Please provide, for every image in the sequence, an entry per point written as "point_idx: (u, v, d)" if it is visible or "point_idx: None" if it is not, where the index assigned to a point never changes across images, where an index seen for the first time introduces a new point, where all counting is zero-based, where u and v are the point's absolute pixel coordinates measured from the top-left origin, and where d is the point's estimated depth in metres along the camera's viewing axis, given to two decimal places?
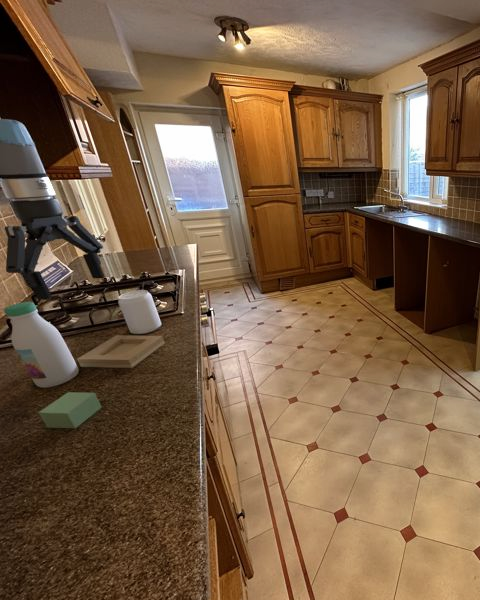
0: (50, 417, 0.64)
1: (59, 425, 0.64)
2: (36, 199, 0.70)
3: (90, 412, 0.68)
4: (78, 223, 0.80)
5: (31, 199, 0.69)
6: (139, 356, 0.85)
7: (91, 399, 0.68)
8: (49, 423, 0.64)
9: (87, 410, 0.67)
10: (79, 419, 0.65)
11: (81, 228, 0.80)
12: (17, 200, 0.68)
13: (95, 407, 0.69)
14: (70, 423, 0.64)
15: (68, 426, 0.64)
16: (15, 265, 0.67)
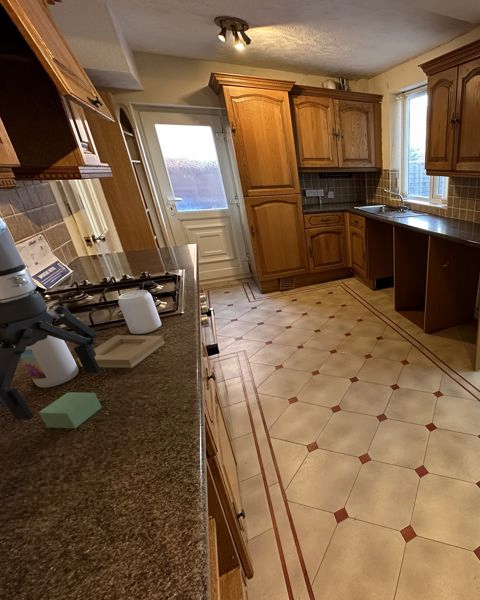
0: (50, 417, 0.64)
1: (59, 425, 0.64)
2: (11, 300, 0.54)
3: (90, 412, 0.68)
4: (67, 314, 0.65)
5: (4, 301, 0.54)
6: (139, 356, 0.85)
7: (91, 399, 0.68)
8: (49, 423, 0.64)
9: (87, 410, 0.67)
10: (79, 419, 0.65)
11: (71, 319, 0.65)
12: None
13: (95, 407, 0.69)
14: (70, 423, 0.64)
15: (68, 426, 0.64)
16: None
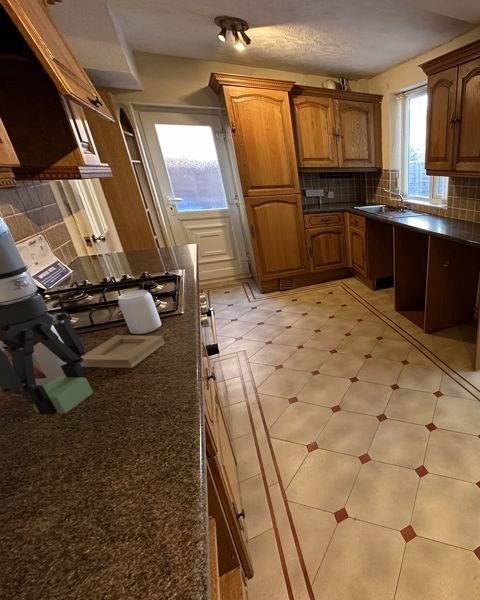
0: None
1: None
2: (12, 302, 0.55)
3: (81, 397, 0.66)
4: (67, 322, 0.65)
5: (5, 303, 0.54)
6: (139, 356, 0.85)
7: (82, 384, 0.66)
8: None
9: (78, 395, 0.65)
10: (69, 404, 0.64)
11: (68, 328, 0.65)
12: None
13: (86, 392, 0.67)
14: (60, 408, 0.63)
15: (58, 410, 0.63)
16: (11, 388, 0.56)
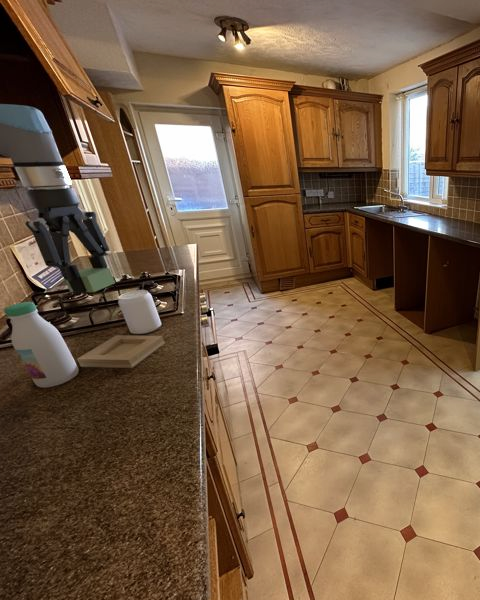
0: None
1: None
2: (53, 188, 0.68)
3: (106, 283, 0.80)
4: (94, 219, 0.78)
5: (48, 188, 0.68)
6: (139, 356, 0.85)
7: (106, 272, 0.80)
8: None
9: (103, 280, 0.79)
10: (97, 285, 0.77)
11: (95, 225, 0.79)
12: (34, 189, 0.67)
13: (110, 280, 0.81)
14: (90, 287, 0.76)
15: (87, 289, 0.76)
16: (52, 260, 0.70)
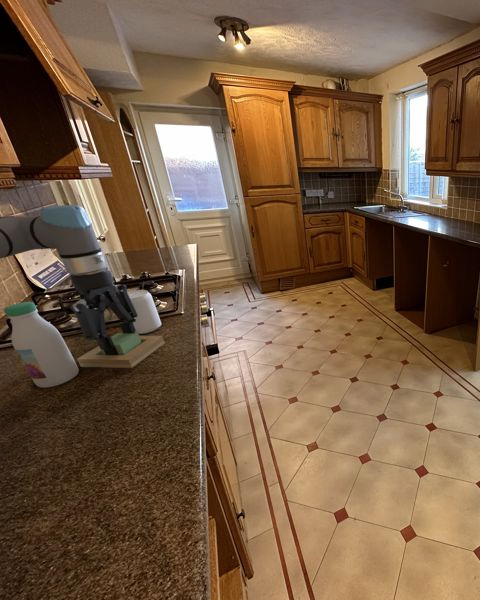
0: None
1: None
2: (93, 273, 0.77)
3: None
4: (124, 291, 0.87)
5: (89, 273, 0.77)
6: (139, 356, 0.85)
7: (136, 338, 0.89)
8: None
9: (133, 345, 0.88)
10: (128, 351, 0.86)
11: (125, 296, 0.87)
12: (77, 275, 0.76)
13: (138, 344, 0.90)
14: (122, 353, 0.85)
15: None
16: (91, 335, 0.79)
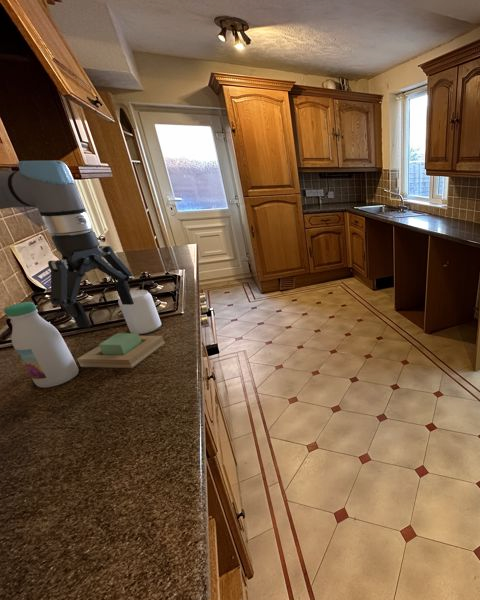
0: (107, 348, 0.85)
1: (113, 354, 0.85)
2: (76, 233, 0.73)
3: None
4: (111, 253, 0.83)
5: (72, 234, 0.73)
6: (139, 356, 0.85)
7: (136, 338, 0.89)
8: (106, 353, 0.85)
9: (133, 345, 0.88)
10: (128, 351, 0.86)
11: (114, 257, 0.84)
12: (59, 235, 0.72)
13: (138, 344, 0.90)
14: (122, 353, 0.85)
15: None
16: (59, 297, 0.72)
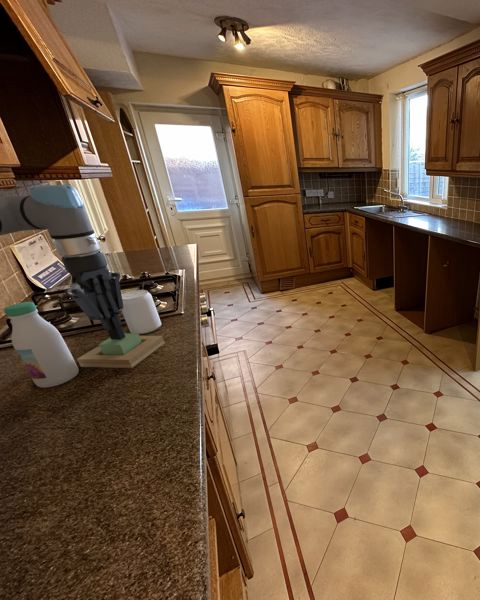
0: (107, 348, 0.85)
1: (113, 354, 0.85)
2: (85, 255, 0.75)
3: None
4: (117, 279, 0.85)
5: (81, 255, 0.75)
6: (139, 356, 0.85)
7: (136, 338, 0.89)
8: (106, 353, 0.85)
9: (133, 345, 0.88)
10: (128, 351, 0.86)
11: (116, 284, 0.85)
12: (69, 257, 0.74)
13: (138, 344, 0.90)
14: (122, 353, 0.85)
15: None
16: (95, 316, 0.80)
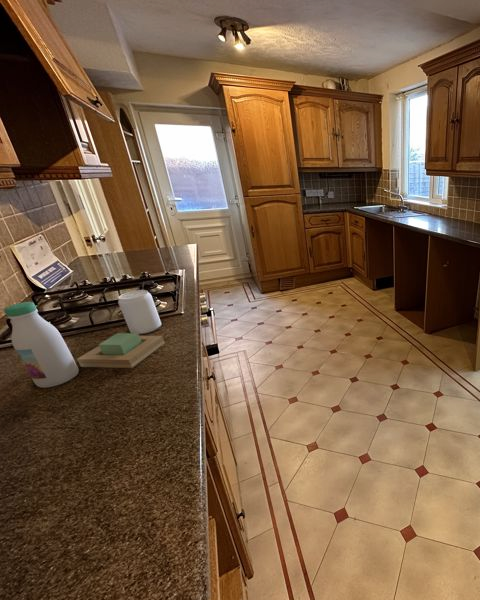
0: (107, 348, 0.85)
1: (113, 354, 0.85)
2: None
3: None
4: None
5: None
6: (139, 356, 0.85)
7: (136, 338, 0.89)
8: (106, 353, 0.85)
9: (133, 345, 0.88)
10: (128, 351, 0.86)
11: None
12: None
13: (138, 344, 0.90)
14: (122, 353, 0.85)
15: None
16: None
